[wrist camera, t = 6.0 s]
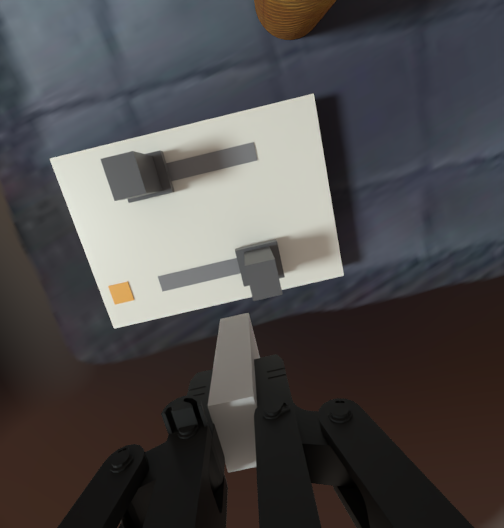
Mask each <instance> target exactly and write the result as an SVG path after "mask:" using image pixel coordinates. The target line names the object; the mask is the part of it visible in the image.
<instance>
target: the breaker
mask: <svg viewBox="0 0 504 528" xmlns="http://www.w3.org/2000/svg"><path fill="white" fill-rule="evenodd" d="M100 160H101V163H102V165H103V168H104V171H105V174H106V177H107V180H108V183H109V186H110V189H111V192H112V195H113V198H114V201H118V200H124V199H128V202H129V203H131V202H136V201H140V200H144V199H148V198H152V197H156V196H161V195H165V194H169V193H173V192H175V191H174V188H173V184H172V181H171V177H170V174H169V171H168V167H167V164H166V160H165V157H164V153H163V151H161V150H160V151H155V152H151V153H147V154H143V153H139V152H135V151H131V152H127V153H123V154H118V155H114V156H110V157H106V158H102V159H100Z"/></svg>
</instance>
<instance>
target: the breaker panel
mask: <svg viewBox="0 0 504 528" xmlns="http://www.w3.org/2000/svg"><path fill="white" fill-rule="evenodd" d="M160 150H161V151H163V153H164V157H165V160H166V164H167V167H168V171H169V174H170V177H171V181H172V184H173V188H174V191H175V192H173V193H169V194H165V195H161V196H156V197H152V198H148V199H144V200H140V201H136V202H131V203H129V202H128V199H124V200H118V201H114V198H113V195H112V192H111V189H110V186H109V183H108V180H107V177H106V174H105V171H104V168H103V165H102V163H101V160H100V159H102V158H106V157H110V156H114V155H118V154H123V153H127V152H131V151H135V152H139V153H143V154H147V153H151V152H155V151H160ZM50 161H51V164H52V166H53V169H54V172H55V174H56V177H57V179H58V182H59V185H60V187H61V190H62V193H63V195H64V198H65V201H66V203H67V206H68V208H69V211H70V214H71V216H72V219H73V222H74V224H75V227H76V230H77V232H78V235H79V238H80V240H81V243H82V245H83V248H84V251H85V253H86V256H87V259H88V261H89V264H90V267H91V269H92V272H93V275H94V277H95V280H96V282H97V285H98V288H99V290H100V293H101V296H102V298H103V301H104V304H105V306H106V309H107V311H108V314H109V317H110V319H111V322H112V325H113V327H114V329H115V328H119V327H123V326H128V325H132V324H136V323H141V322H145V321H149V320H154V319H158V318H162V317H167V316H171V315H175V314H180V313H184V312H188V311H193V310H197V309H201V308H206V307H210V306H214V305H219V304H223V303H227V302H232V301H236V300H240V299H244V298H249V297H252V293H251V289H250V285H249V286H245V287H244V285H243V281H242V277H241V273H240V269H239V265H238V261H237V257H236V253H235V249H236V248H240V247H245V246H249V245H253V244H257V243H262V242H266V241H270V240H274V239H276V240H277V243H278V248H279V253H280V257H281V262H282V267H283V271H284V276H285V277H284V278H279V280H280V285H281V289H282V290H283V289H288V288H292V287H296V286H301V285H305V284H309V283H314V282H318V281H322V280H327V279H331V278H335V277H340V276H344V274H343V268H342V262H341V256H340V250H339V243H338V237H337V231H336V225H335V219H334V213H333V207H332V201H331V195H330V189H329V183H328V177H327V171H326V165H325V159H324V152H323V146H322V140H321V134H320V128H319V122H318V116H317V110H316V104H315V98H314V94H310V95H306V96H302V97H298V98H294V99H290V100H286V101H281V102H277V103H273V104H269V105H265V106H261V107H257V108H253V109H249V110H245V111H241V112H237V113H233V114H229V115H225V116H221V117H217V118H213V119H209V120H204V121H200V122H196V123H192V124H188V125H184V126H180V127H176V128H172V129H168V130H164V131H160V132H156V133H152V134H148V135H144V136H140V137H136V138H132V139H128V140H123V141H119V142H115V143H111V144H107V145H103V146H99V147H95V148H91V149H87V150H83V151H79V152H75V153H71V154H67V155H63V156H59V157H55V158H51V159H50Z"/></svg>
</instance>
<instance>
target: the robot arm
mask: <svg viewBox="0 0 504 528" xmlns="http://www.w3.org/2000/svg"><path fill="white" fill-rule="evenodd" d="M188 390H189V391H188V393H187V396H183V397H180V398H177V399H176V400H174V401H172V402H170V403H169V404H168V405H167V406H166V407H165V408H164V410H163V412H162V413H161V415H162V417H163V420H164V423H165V426H166V429H167V431H168V434H169V435H168V439H167V441H166V442H165V443H163V444H161V445H159V446H157V447H155V448H153V449H151V450H149V451H147V452H144V449H143V448H142V447H141V446H140V445H135V444H133V445H127V446H125V447H123V448H120V449H118V450H117V451H115V452H114V453H113V454H111V455H110V456H109V457H108V458H107V460H106V461H105V462H104V463H103V465H102V466H101V467H100V469H99V470H98V472H97V473H96V474H95V476H94V477H93V478H92V480H91V481H90V483H89V484H88V486H87V487H86V488H85V490H84V491H83V493H82V494H81V495H80V497H79V498H78V500H77V501H76V502H75V504H74V505H73V506H72V508H71V509H70V511H69V512H68V514H67V515H66V516H65V518H64V519H63V521H62V522H61V523H60V525H59V526H58V527H57V528H117V526H118V525H119V523H120V522H121V524H120V526H119V528H226V516H227V492H228V491H227V490H228V487H227V481H226V478H225V475H224V464H226V467H227V470H228V472H233V471H238V470H243V469H247V468H252V467H256V468H257V487H258V508H259V525H260V528H321V524H320V520H319V515H318V511H317V506H316V502H315V498H314V493H313V489H312V484H311V483H316V484H324V485H333V487H334V490H335V492H336V493H337V495H338V497H339V499H340V500H341V502H342V503H343V505H344V507H345V509H346V510H347V512H348V514H349V515H350V517H351V519H352V521H353V522H354V524H355V526H356V527H357V528H474V527H473V526H472V525H471V524H470V523H469V522H468V521H467V520H466V519H465V518H464V516H463V515H462V514H461V513H460V512H459V511H458V510H457V509H456V508H455V507H454V506H453V505H452V504H451V503H450V501H448V500H447V498H446V497H445V496H444V495H443V494H442V493H441V492H440V491H439V490H438V489H437V488H436V487H435V486H434V484H433V483H431V481H430V480H429V479H428V478H427V477H426V476H425V475H424V474H423V473H422V472H421V471H420V470H419V469H418V468H417V466H416V465H415V464H414V463H413V462H412V461H411V460H410V459H409V458H408V457H407V456H406V455H405V454H404V453H403V452H402V451H401V449H400V448H399V447H398V446H397V445H396V444H395V443H394V442H393V441H392V440H391V439H390V438H389V437H388V436H387V435H386V434H385V432H384V431H383V430H382V429H381V428H380V427H379V426H378V425H377V424H376V423H375V422H374V421H373V420H372V419H371V418H370V417H369V416H368V414H367V413H365V411H364V410H363V409H362V408H361V407H360V406H359V405H358V404H356V403H355V402H354V401H351V400H347V399H333V400H330V401H328V402H326V403H324V404H323V405H322V406H321V408H320V409H319V412H317V411H306V410H303V409H301V408H299V407H297V406H296V405H295V404H294V403H293V400H292V398H291V393H290V389H289V385H288V380H287V376H286V372H285V367H284V363H283V360H282V359H281V358H280V357H279V356H278V355H272V356H267V357H262V358H260V356H259V352H258V348H257V345H256V340H255V336H254V332H253V328H252V324H251V320H250V316H249V313H246V314H241V315H237V316H232V317H228V318H223V319H220V325H219V332H218V339H217V346H216V352H215V359H214V366H213V369H212V370H208V371H204V372H199V373H197V374H196V375H195V376H194V378H193V379H192V380H191V382H190V385H189V389H188Z"/></svg>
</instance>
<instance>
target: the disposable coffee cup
mask: <svg viewBox="0 0 504 528" xmlns="http://www.w3.org/2000/svg"><path fill="white" fill-rule="evenodd" d="M336 1H337V0H254V2H255V9H256V13H257V16H258V18H259V20H260V22H261V24H262V25H263V26H264V28H265V29H266V30H267V31H268V32H269V33H271V34H272V35H273V36H275V37H277V38H280V39H284V40H293V39H298V38H301V37H303V36H305V35H306V34H308V33H309V32H310V31H311V30H312V29H313V28H314V27H315V26H316V25H317V23H318V22H319V21H320V20H321V19H322V17H323V16H324V15H325V14H326V13H327V11H328V10H329V9H330V8H331V7H332V5H333V4H334V3H335V2H336Z"/></svg>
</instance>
